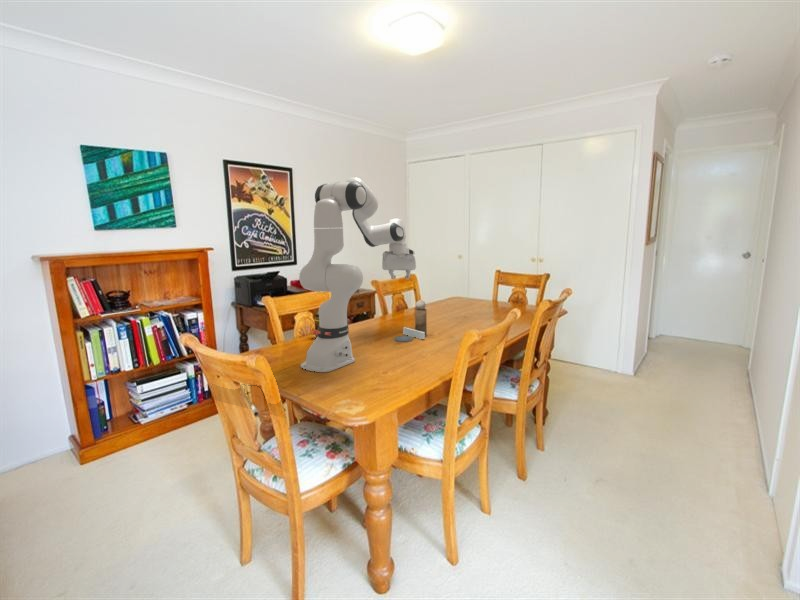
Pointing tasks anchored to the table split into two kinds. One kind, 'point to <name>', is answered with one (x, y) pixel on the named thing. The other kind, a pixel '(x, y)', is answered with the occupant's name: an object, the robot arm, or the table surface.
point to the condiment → (316, 322)
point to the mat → (403, 338)
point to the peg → (420, 317)
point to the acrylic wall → (413, 333)
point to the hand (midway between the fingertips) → (400, 279)
